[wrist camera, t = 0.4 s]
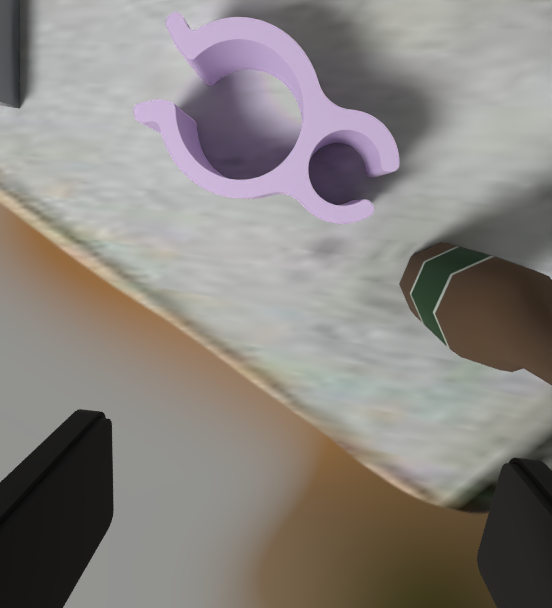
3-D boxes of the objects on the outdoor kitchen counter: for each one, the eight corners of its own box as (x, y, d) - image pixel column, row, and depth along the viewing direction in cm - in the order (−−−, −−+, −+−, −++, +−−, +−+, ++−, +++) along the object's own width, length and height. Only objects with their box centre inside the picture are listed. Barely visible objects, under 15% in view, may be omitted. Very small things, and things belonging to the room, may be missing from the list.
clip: (404, 128, 36) (429, 111, 29) (337, 251, 39) (346, 261, 32) (204, 19, 34) (182, -26, 27) (151, 155, 37) (119, 145, 31)
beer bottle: (476, 316, 39) (733, 481, 16) (397, 320, 40) (535, 486, 17) (480, 238, 37) (780, 297, 14) (397, 243, 38) (555, 308, 15)
